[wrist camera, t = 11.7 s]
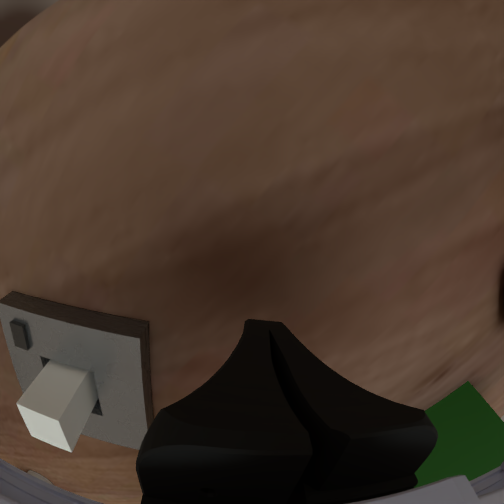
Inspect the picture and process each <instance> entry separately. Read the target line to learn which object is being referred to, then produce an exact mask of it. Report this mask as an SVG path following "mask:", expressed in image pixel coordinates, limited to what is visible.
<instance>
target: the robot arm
mask: <svg viewBox="0 0 504 504" xmlns="http://www.w3.org/2000/svg"><path fill="white" fill-rule="evenodd" d="M437 439H438V432H437V430H436V428H435V427H434V425H433V423H432V422H431V420H430V419H429V417H428V416H427V414H426V413H425V411H424V410H421V409H417V408H414V407H410V406H406V405H403V404H399V403H396V402H393V401H391V400H388V399H385V398H383V397H380V396H378V395H376V394H373V393H371V392H369V391H367V390H365V389H363V388H361V387H359V386H357V385H355V384H354V383H352V382H350V381H348V380H347V379H345V378H344V377H342V376H341V375H339V374H338V373H336V372H335V371H333V370H332V369H330V368H329V367H328V366H327V365H325V364H324V363H323V362H322V361H320V360H319V359H318V358H317V357H316V356H315V355H313V354H312V353H311V352H310V351H309V350H308V349H307V348H306V347H305V346H304V345H303V344H302V343H301V342H300V341H299V340H298V339H297V338H296V337H295V336H294V335H293V334H292V333H291V332H290V330H289V329H288V328H287V327H286V326H285V325H284V324H283V323H282V322H274V321H264V320H254V319H248V320H246V321H245V324H244V331H243V334H242V337H241V338H240V340H239V342H238V344H237V346H236V348H235V349H234V351H233V352H232V354H231V355H230V357H229V358H228V360H227V361H226V362H225V363H224V365H223V366H222V367H221V368H220V369H219V370H218V371H217V372H216V373H215V374H214V375H213V376H212V377H211V378H210V379H209V380H208V381H207V382H206V383H204V384H203V385H202V386H201V387H199V388H198V389H196V390H195V391H193V392H192V393H191V394H189V395H188V396H186V397H185V398H183V399H181V400H179V401H177V402H176V403H174V404H172V405H170V406H168V407H166V408H163V409H161V410H160V412H159V413H158V414H157V416H156V417H155V419H154V420H153V422H152V424H151V425H150V427H149V429H148V430H147V432H146V434H145V437H144V439H143V441H142V443H141V446H140V450H139V453H138V457H137V460H136V471H137V475H138V479H139V482H140V486H141V489H142V493H143V496H142V500H141V504H504V461H503V462H502V464H501V466H499V467H497V468H495V469H493V470H491V471H490V472H488V473H486V474H484V475H482V476H480V477H477V478H475V479H473V480H471V481H468V479H467V477H466V476H465V475H457V476H452V477H447V478H444V479H441V480H439V481H436V482H433V483H430V484H427V485H424V486H420V487H417V488H414V486H416V485H417V484H418V479H417V477H416V475H415V472H416V471H417V470H418V468H419V467H420V466H421V465H422V464H423V462H424V461H425V460H426V459H427V457H428V456H429V455H430V454H431V452H432V450H433V449H434V447H435V445H436V442H437ZM0 504H103V503H100V502H96V501H93V500H90V499H87V498H85V497H82V496H79V495H76V494H74V493H71V492H68V491H66V490H63V489H61V488H59V487H56V486H54V485H52V484H49V483H47V482H45V481H43V480H40V479H38V478H36V477H34V476H32V475H30V474H28V473H26V472H24V471H22V470H20V469H18V468H16V467H15V466H13V465H11V464H9V463H7V462H6V461H4V460H2V459H0Z"/></svg>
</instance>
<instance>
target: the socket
mask: <svg viewBox="0 0 504 504" xmlns="http://www.w3.org/2000/svg"><path fill="white" fill-rule="evenodd" d="M0 318H1V323H2V327H3V331H4V335H5V339H6V342H7V346H8V349H9V353H10V356H11V359H12V363H13V366H14V369H15V372H16V375H17V378H18V380H19V383H20V386H21V389H22V391H23V394H24V392H25V391H26V390H27V388H28V387H29V386H30V385H31V383H32V382H33V381H34V379H35V378H36V377H37V376H38V374H39V373H40V372H41V370H42V369H43V368H44V367H45V365H46V364H47V363H48V362H49V361H50V359H51V360H54V361H57V362H61V363H64V364H67V365H71V366H74V367H78V368H81V369H85V370H88V371H92V372H94V378H95V383H96V388H97V392H98V397H99V398H98V400H97V402H96V404H95V406H94V408H93V410H92V412H91V414H90V416H89V418H88V420H87V422H86V424H85V426H84V428H83V430H82V432H81V434H83V435H86V436H89V437H92V438H96V439H99V440H102V441H106V442H109V443H113V444H117V445H121V446H125V447H129V448H133V449H138V450H140V446H141V443H142V441H143V439H144V437H145V434H146V432H147V430H148V429H149V427H150V425H151V424H152V422H153V420H154V419H153V407H152V394H151V379H150V358H149V322H148V321H142V320H137V319H131V318H126V317H120V316H115V315H110V314H105V313H100V312H95V311H91V310H86V309H81V308H77V307H73V306H68V305H64V304H60V303H56V302H51V301H47V300H44V299H40V298H36V297H32V296H28V295H25V294H21V293H17V292H14V291H12V292H11V293H9V294H8V295H6V296H5V297H3V298H2V299H1V300H0Z"/></svg>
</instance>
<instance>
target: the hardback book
mask: <svg viewBox="0 0 504 504" xmlns="http://www.w3.org/2000/svg"><path fill="white" fill-rule="evenodd" d="M425 413H426V414H427V416H428V417H429V419H430V420H431V422H432V423H433V425H434V427H435V428H436V430H437V432H438V439H437V442H436V445H435V447H434V449H433V450H432V452H431V454H430V455H429V456H428V457H427V459H426V460H425V461H424V462H423V464H422V465H421V466H420V467H419V468H418V470H417V471H416V472H415V475H416V477H417V479H418V484H417V485H416V486H414V488H417V487H420V486H424V485H427V484H430V483H433V482H436V481H439V480H441V479H444V478H447V477H452V476H457V475H465V476H466V477H467V479H468V481H471V480H473V479H475V478H477V477H480V476H482V475H484V474H486V473H488V472H490V471H491V470H493V469H495V468H497V467H499V466H501V464H502V462H503V461H504V422H503V421H502V420H501V419H500V417H499V416H498V415H497V414H496V413H495V411H494V410H493V409H492V408H491V407H490V405H489V404H488V403H487V402H486V401H485V400H484V398H483V397H482V396H481V395H480V394H479V393H478V392H477V390H476V389H475V388H474V387H473V386H472V385H471V384H470V383H469V381H467V382H466V383H465V384H463V385H462V386H461V387H459V388H458V389H456V390H455V391H454V392H452V393H451V394H449V395H448V396H447V397H445V398H444V399H442V400H441V401H439V402H438V403H436V404H435V405H433V406H432V407H430V408H429V409H427V410H425Z"/></svg>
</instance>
